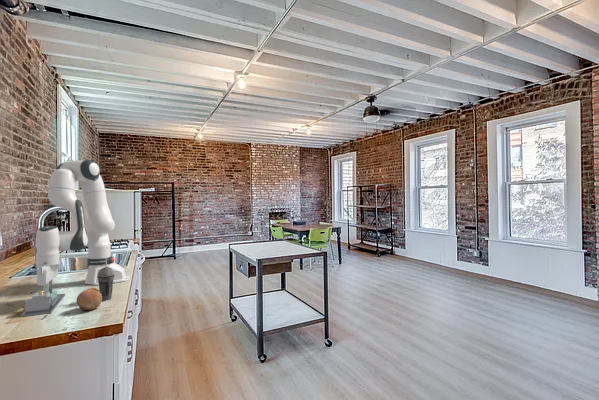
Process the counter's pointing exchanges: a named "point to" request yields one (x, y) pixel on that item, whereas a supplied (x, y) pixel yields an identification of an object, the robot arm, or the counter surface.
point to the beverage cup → (106, 282)
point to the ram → (52, 294)
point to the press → (41, 305)
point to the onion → (89, 299)
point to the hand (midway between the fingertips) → (47, 289)
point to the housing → (41, 294)
